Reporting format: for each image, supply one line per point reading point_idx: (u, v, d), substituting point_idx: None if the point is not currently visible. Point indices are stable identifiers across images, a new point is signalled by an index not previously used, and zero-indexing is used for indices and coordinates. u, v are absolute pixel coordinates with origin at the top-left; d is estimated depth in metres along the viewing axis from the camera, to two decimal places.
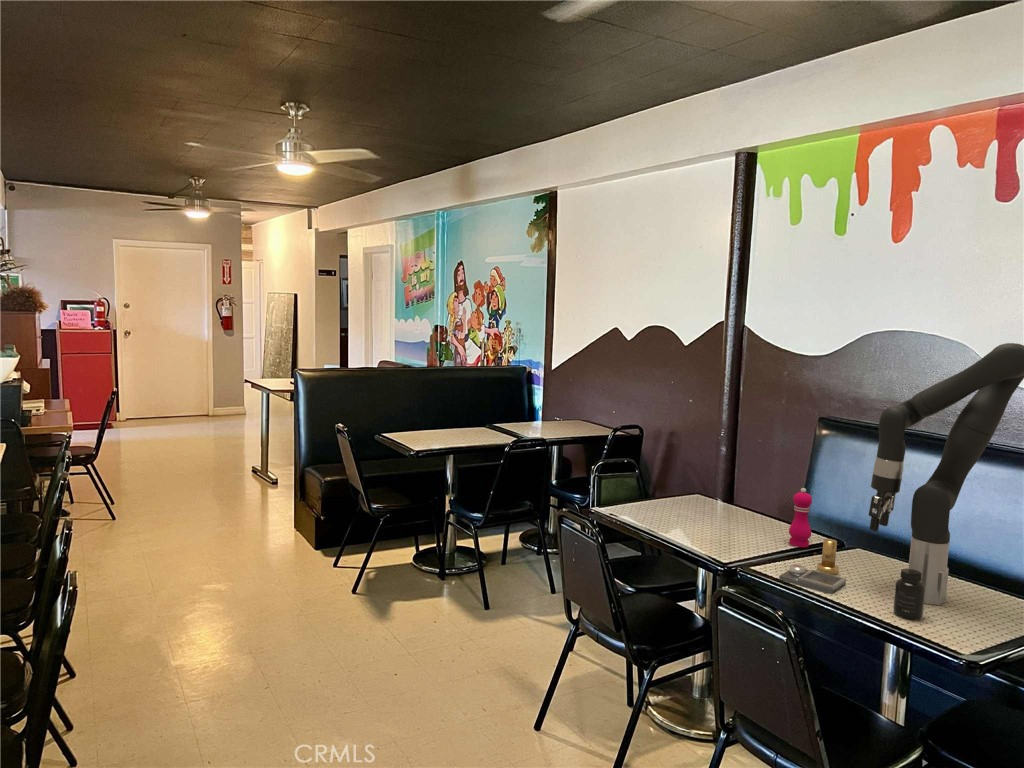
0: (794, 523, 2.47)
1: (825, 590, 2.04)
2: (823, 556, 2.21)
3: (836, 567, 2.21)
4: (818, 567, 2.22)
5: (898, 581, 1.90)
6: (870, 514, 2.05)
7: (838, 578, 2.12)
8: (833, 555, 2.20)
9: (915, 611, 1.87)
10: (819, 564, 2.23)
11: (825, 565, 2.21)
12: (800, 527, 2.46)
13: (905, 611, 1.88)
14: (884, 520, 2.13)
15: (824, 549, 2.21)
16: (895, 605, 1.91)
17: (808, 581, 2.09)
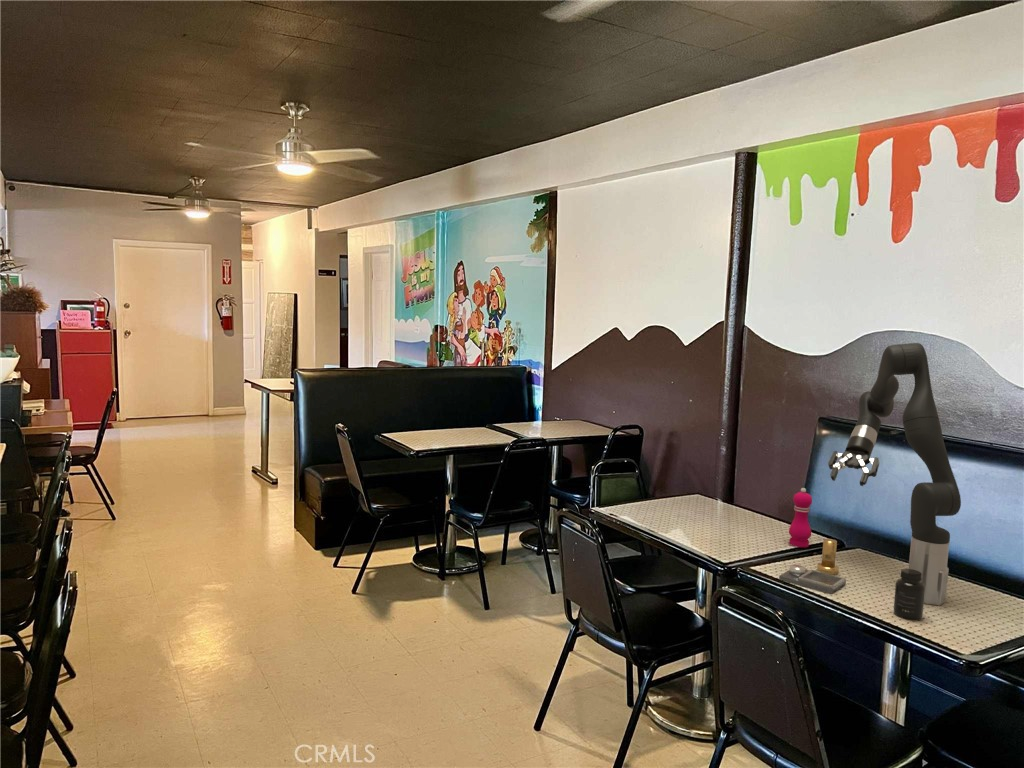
0: (794, 523, 2.47)
1: (825, 590, 2.04)
2: (823, 556, 2.21)
3: (836, 567, 2.21)
4: (818, 567, 2.22)
5: (898, 581, 1.90)
6: (829, 466, 2.35)
7: (838, 578, 2.12)
8: (833, 555, 2.20)
9: (915, 611, 1.87)
10: (819, 564, 2.23)
11: (825, 565, 2.21)
12: (800, 527, 2.46)
13: (905, 611, 1.88)
14: None
15: (824, 549, 2.21)
16: (895, 605, 1.91)
17: (808, 581, 2.09)
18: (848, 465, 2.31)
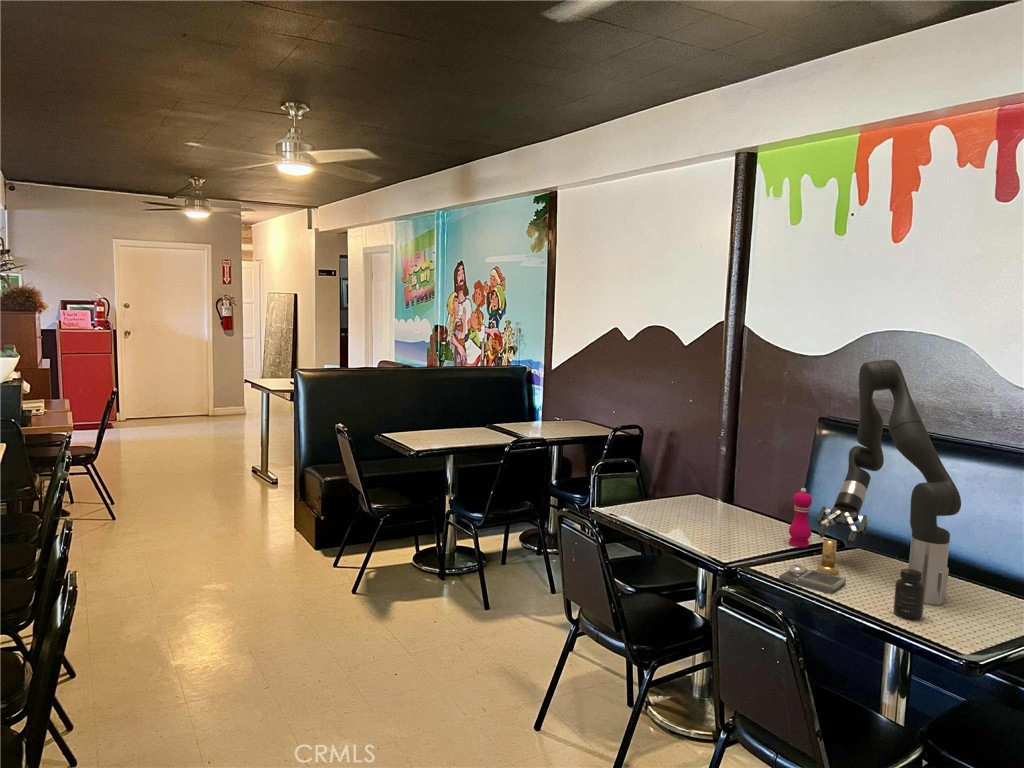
0: (794, 523, 2.47)
1: (825, 590, 2.04)
2: (823, 556, 2.21)
3: (836, 567, 2.21)
4: (818, 567, 2.22)
5: (898, 581, 1.90)
6: (817, 522, 2.32)
7: (838, 578, 2.12)
8: (833, 555, 2.20)
9: (915, 612, 1.87)
10: (819, 564, 2.23)
11: (825, 565, 2.21)
12: (800, 527, 2.46)
13: (905, 611, 1.88)
14: None
15: (824, 549, 2.21)
16: (895, 605, 1.91)
17: (808, 581, 2.09)
18: (836, 522, 2.28)
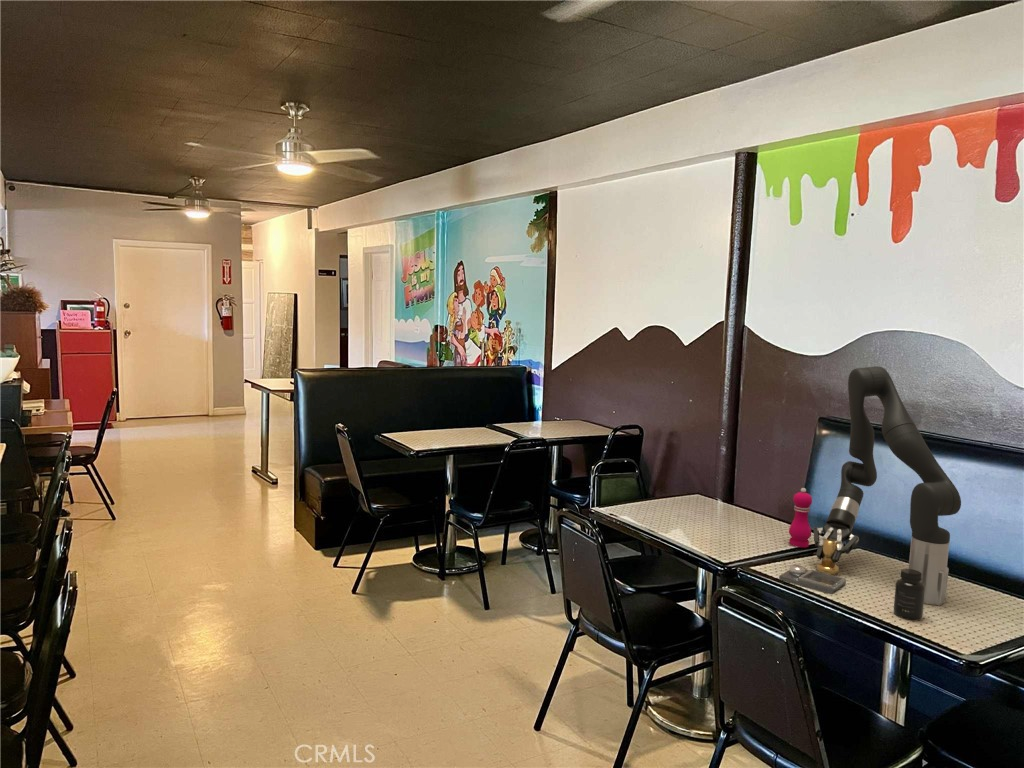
0: (794, 523, 2.47)
1: (825, 590, 2.04)
2: (823, 556, 2.21)
3: (836, 567, 2.21)
4: (818, 567, 2.22)
5: (898, 581, 1.90)
6: None
7: (838, 578, 2.12)
8: None
9: (915, 612, 1.87)
10: (819, 564, 2.23)
11: (825, 565, 2.21)
12: (800, 527, 2.46)
13: (905, 611, 1.88)
14: None
15: (824, 549, 2.21)
16: (895, 605, 1.91)
17: (808, 581, 2.09)
18: (833, 539, 2.23)
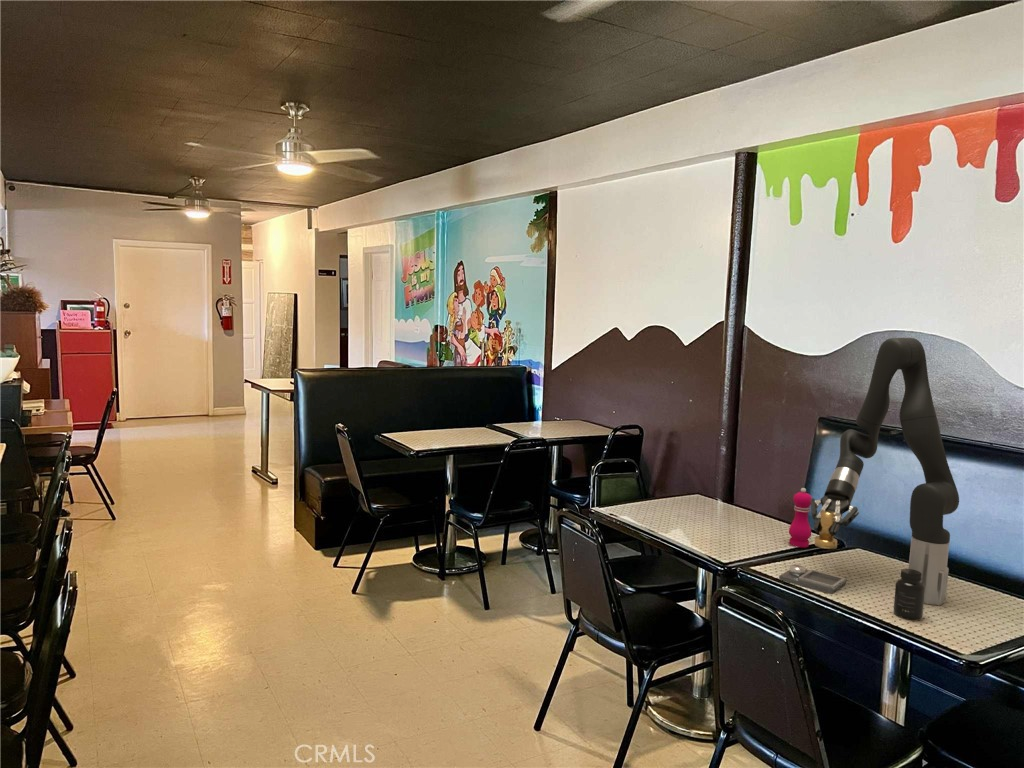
0: (794, 523, 2.47)
1: (825, 590, 2.04)
2: (821, 529, 2.10)
3: (834, 540, 2.09)
4: (815, 540, 2.10)
5: (898, 581, 1.90)
6: None
7: (838, 578, 2.12)
8: (831, 527, 2.08)
9: (915, 611, 1.87)
10: (817, 537, 2.11)
11: (823, 538, 2.09)
12: (800, 527, 2.46)
13: (905, 611, 1.88)
14: None
15: (822, 521, 2.09)
16: (895, 605, 1.91)
17: (808, 581, 2.09)
18: None
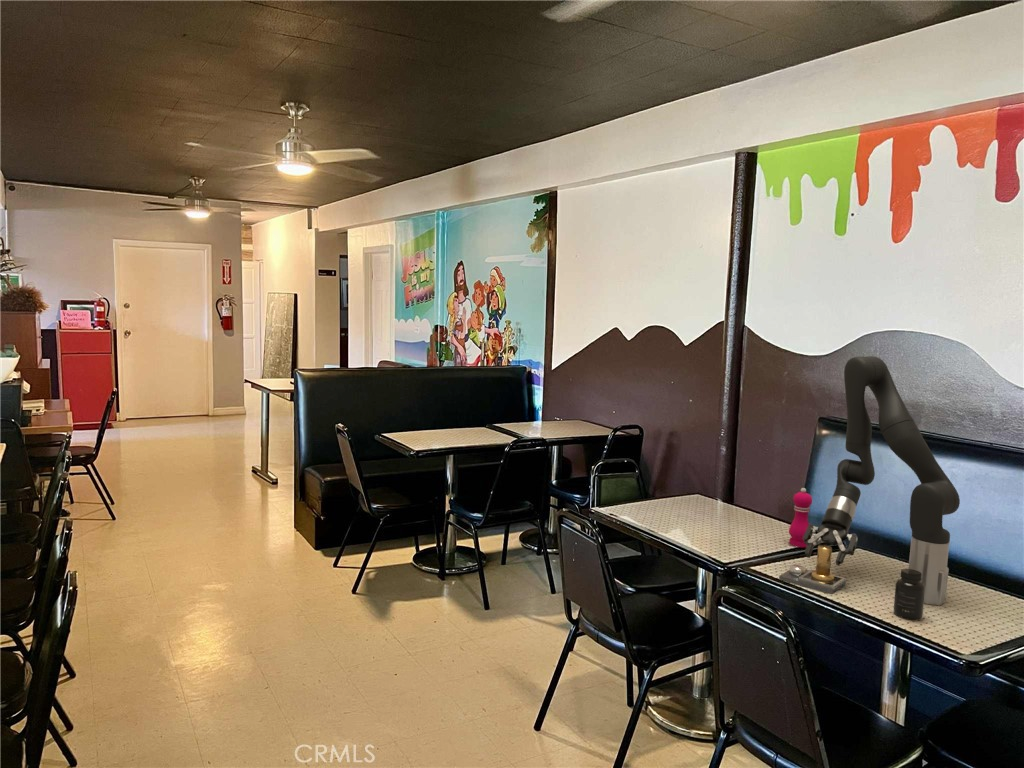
0: (794, 523, 2.47)
1: (825, 590, 2.04)
2: (818, 563, 2.10)
3: (831, 575, 2.10)
4: (812, 575, 2.11)
5: (898, 581, 1.90)
6: None
7: (838, 578, 2.12)
8: (828, 562, 2.09)
9: (915, 612, 1.87)
10: (813, 572, 2.12)
11: (820, 573, 2.10)
12: (800, 527, 2.46)
13: (905, 611, 1.88)
14: None
15: (819, 556, 2.10)
16: (895, 605, 1.91)
17: (808, 581, 2.09)
18: (824, 541, 2.13)
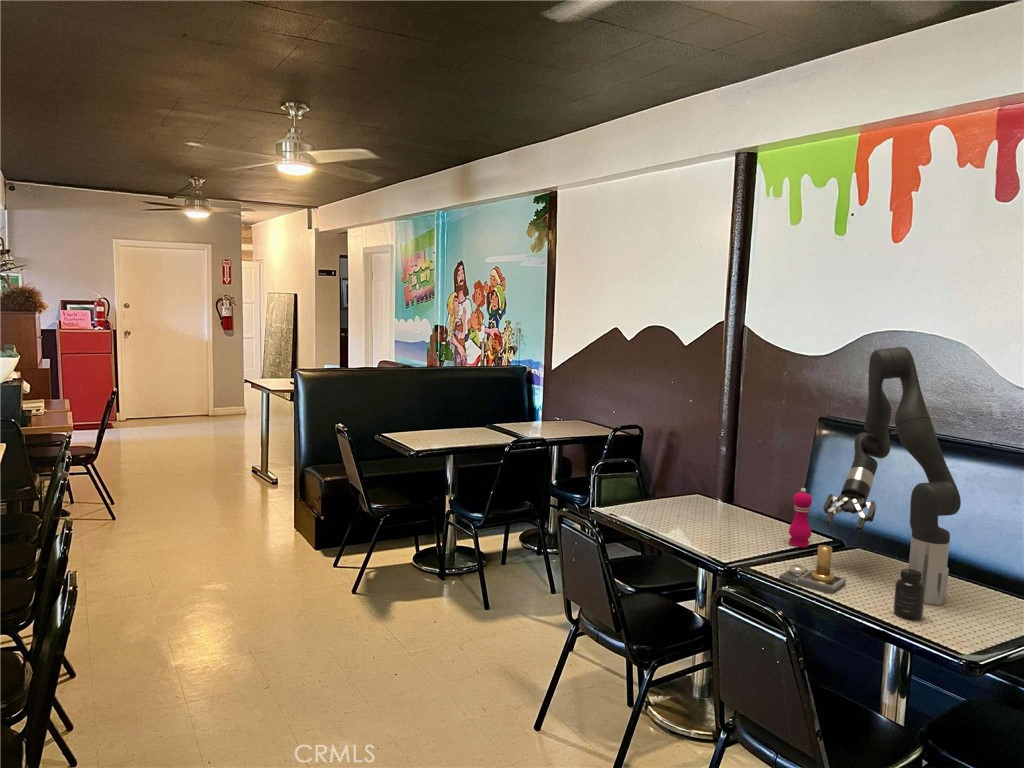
0: (794, 523, 2.47)
1: (825, 590, 2.04)
2: (818, 563, 2.10)
3: (831, 575, 2.10)
4: (812, 575, 2.11)
5: (898, 581, 1.90)
6: (824, 510, 2.27)
7: (838, 578, 2.12)
8: (828, 562, 2.09)
9: (915, 611, 1.87)
10: (813, 572, 2.12)
11: (820, 573, 2.10)
12: (800, 527, 2.46)
13: (905, 611, 1.88)
14: None
15: (819, 556, 2.10)
16: (895, 605, 1.91)
17: (808, 581, 2.09)
18: (844, 509, 2.23)
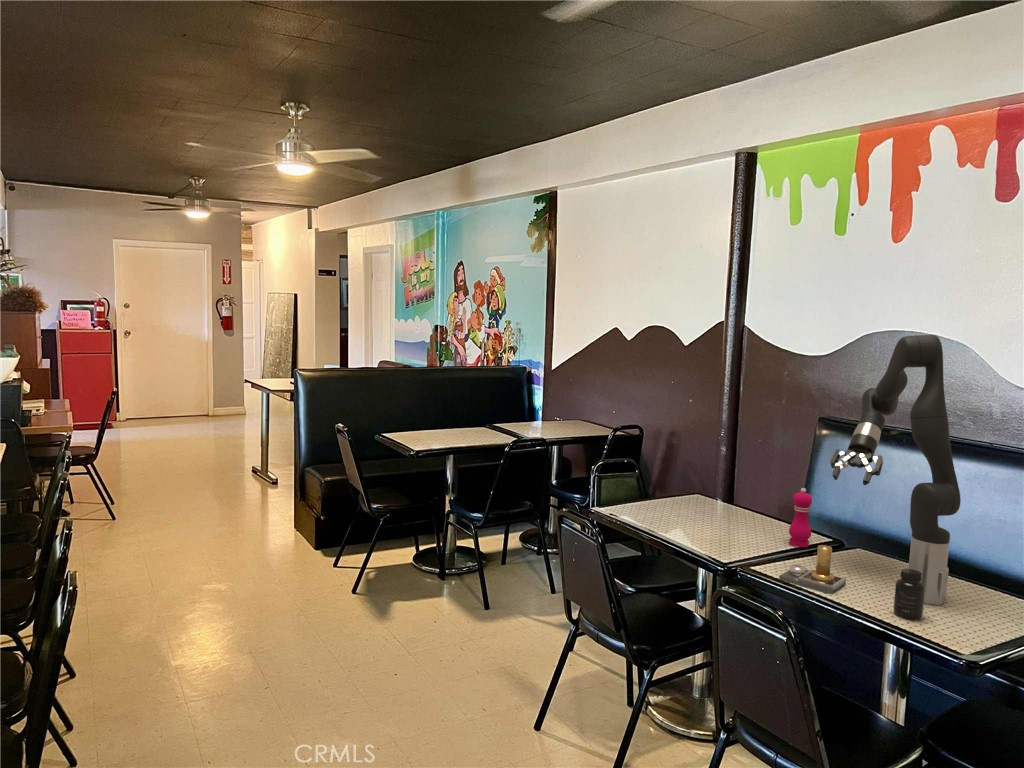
0: (794, 523, 2.47)
1: (825, 590, 2.04)
2: (818, 563, 2.10)
3: (831, 575, 2.10)
4: (812, 575, 2.11)
5: (898, 581, 1.90)
6: (831, 465, 2.28)
7: (838, 578, 2.12)
8: (828, 562, 2.09)
9: (915, 612, 1.87)
10: (813, 572, 2.12)
11: (820, 573, 2.10)
12: (800, 527, 2.46)
13: (905, 611, 1.88)
14: None
15: (819, 556, 2.10)
16: (895, 605, 1.91)
17: (808, 581, 2.09)
18: (851, 464, 2.24)
